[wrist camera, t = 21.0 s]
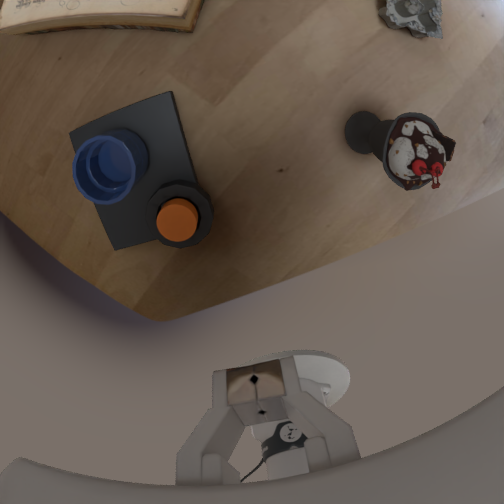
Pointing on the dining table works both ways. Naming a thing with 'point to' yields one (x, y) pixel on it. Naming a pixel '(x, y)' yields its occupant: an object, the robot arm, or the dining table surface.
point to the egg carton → (414, 16)
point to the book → (97, 15)
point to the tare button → (177, 220)
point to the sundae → (402, 146)
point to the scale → (151, 173)
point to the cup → (110, 166)
